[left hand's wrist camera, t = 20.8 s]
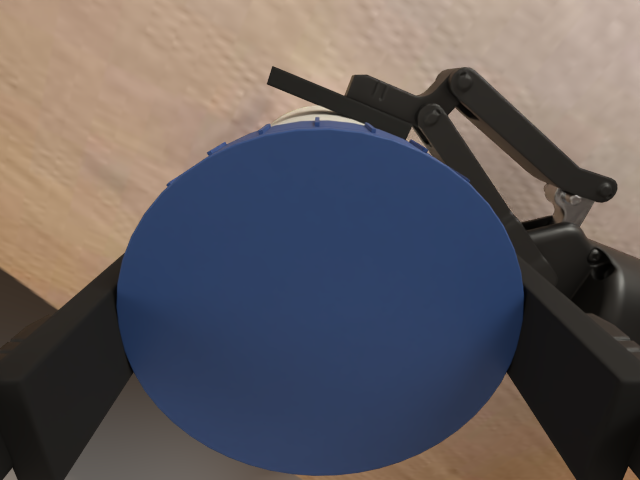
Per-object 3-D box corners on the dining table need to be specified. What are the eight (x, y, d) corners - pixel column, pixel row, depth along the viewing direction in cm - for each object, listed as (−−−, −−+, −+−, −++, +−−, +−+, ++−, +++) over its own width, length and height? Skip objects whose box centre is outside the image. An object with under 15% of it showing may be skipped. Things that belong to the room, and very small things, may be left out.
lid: (549, 329, 13) (591, 373, 11) (286, 465, 15) (281, 521, 13) (373, 26, 9) (387, 10, 7) (72, 260, 12) (23, 295, 10)
